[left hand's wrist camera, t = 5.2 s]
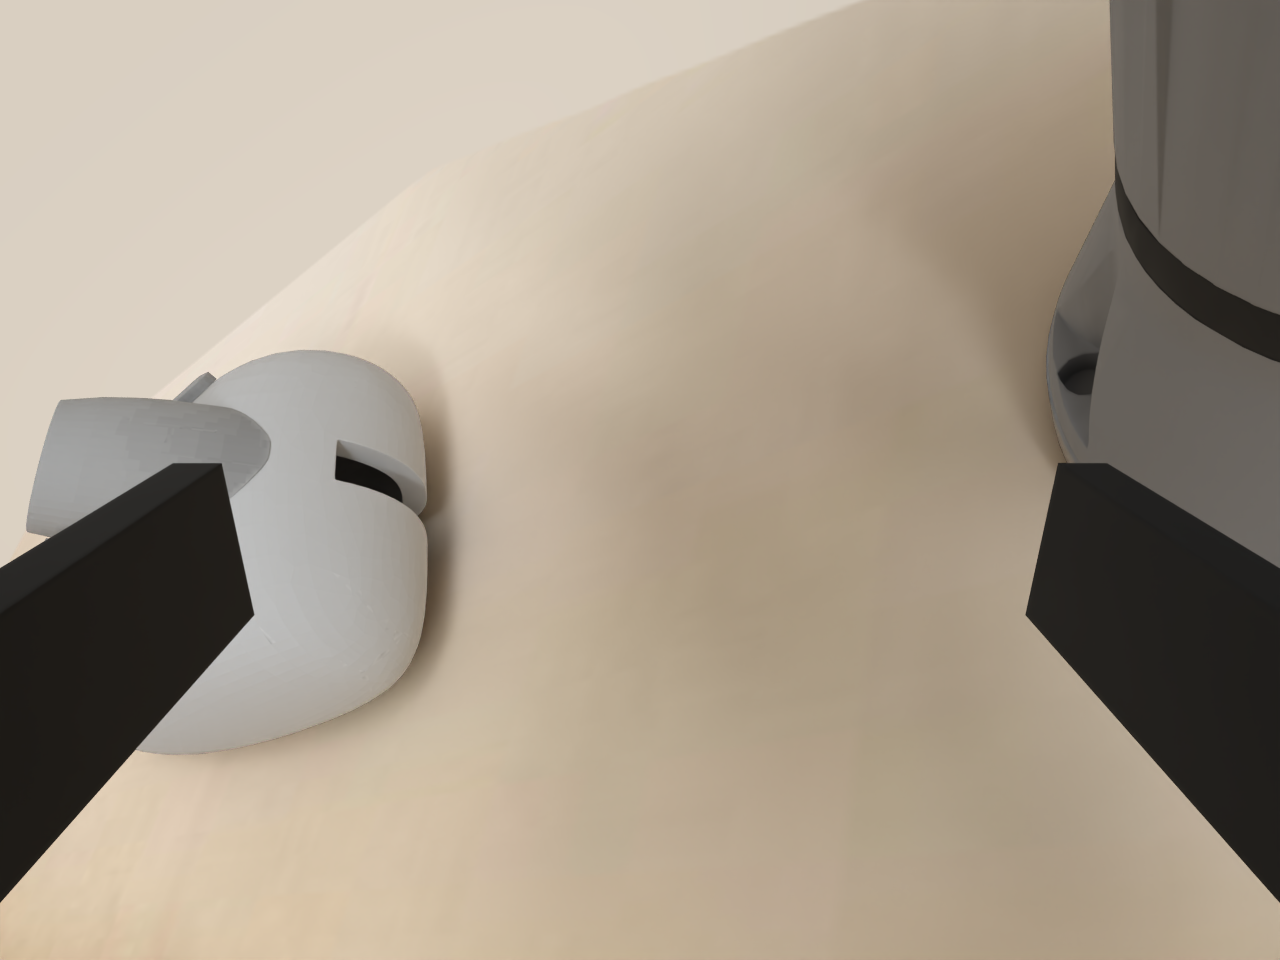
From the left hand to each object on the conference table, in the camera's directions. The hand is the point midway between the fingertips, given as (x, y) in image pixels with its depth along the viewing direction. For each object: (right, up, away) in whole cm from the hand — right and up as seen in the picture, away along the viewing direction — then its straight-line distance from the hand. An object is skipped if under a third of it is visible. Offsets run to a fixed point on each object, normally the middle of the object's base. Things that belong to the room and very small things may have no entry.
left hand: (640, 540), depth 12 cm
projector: (-17, -6, +27) cm, 32 cm away
